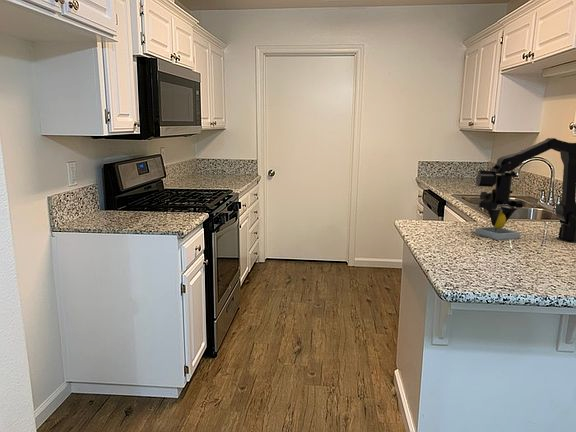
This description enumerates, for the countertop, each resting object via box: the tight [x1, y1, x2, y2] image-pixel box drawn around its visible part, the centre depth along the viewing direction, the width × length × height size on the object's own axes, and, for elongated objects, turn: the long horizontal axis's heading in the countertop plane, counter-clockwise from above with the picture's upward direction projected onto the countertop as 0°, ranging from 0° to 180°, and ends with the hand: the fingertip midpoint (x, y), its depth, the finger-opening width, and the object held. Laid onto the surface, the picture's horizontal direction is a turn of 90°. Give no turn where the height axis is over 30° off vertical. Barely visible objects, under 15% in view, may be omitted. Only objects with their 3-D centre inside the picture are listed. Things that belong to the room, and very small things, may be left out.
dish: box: [474, 226, 521, 241], centre depth 187 cm, size 12×12×2 cm
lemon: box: [492, 210, 507, 230], centre depth 186 cm, size 6×6×8 cm
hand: (498, 224), depth 186 cm, fingers closed on lemon, 5 cm apart
